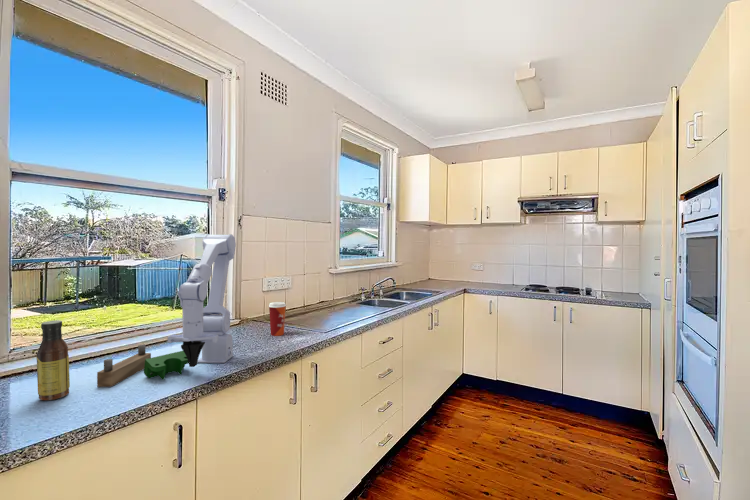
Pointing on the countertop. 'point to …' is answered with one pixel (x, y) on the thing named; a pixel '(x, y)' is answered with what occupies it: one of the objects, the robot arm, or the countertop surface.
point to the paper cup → (277, 318)
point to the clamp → (165, 364)
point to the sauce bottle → (52, 363)
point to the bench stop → (122, 368)
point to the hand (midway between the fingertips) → (193, 365)
